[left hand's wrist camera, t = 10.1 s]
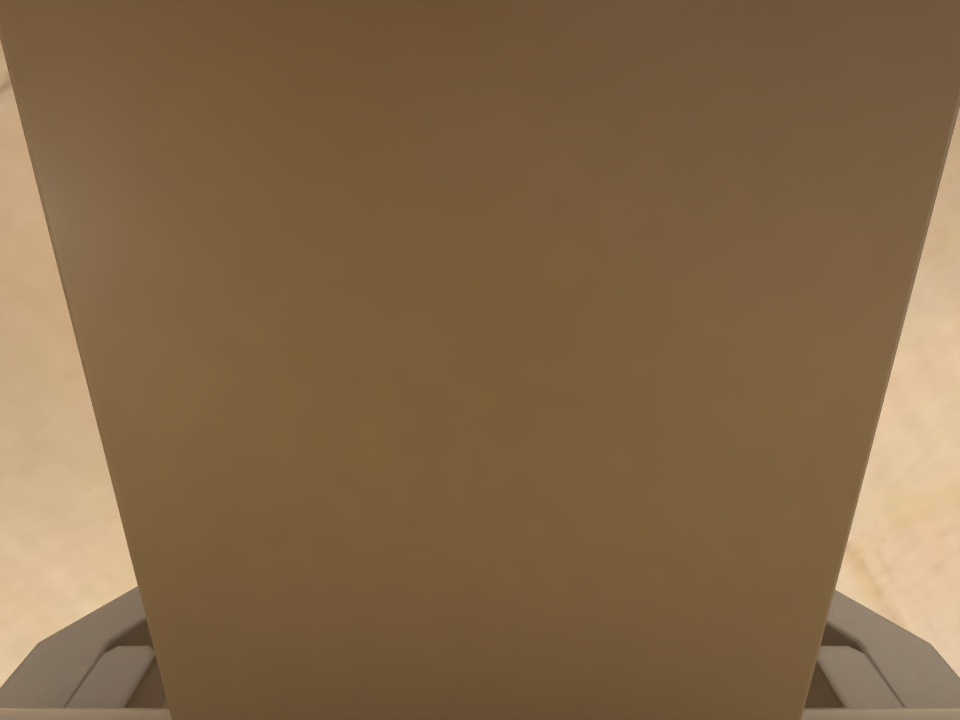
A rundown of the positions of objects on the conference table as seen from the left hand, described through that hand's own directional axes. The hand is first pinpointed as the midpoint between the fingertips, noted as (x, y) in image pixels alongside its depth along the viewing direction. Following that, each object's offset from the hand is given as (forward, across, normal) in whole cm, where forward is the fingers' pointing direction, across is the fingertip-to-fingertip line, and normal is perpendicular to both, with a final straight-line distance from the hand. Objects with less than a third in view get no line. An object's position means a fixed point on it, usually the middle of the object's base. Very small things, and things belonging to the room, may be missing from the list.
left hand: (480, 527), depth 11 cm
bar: (+4, 0, -9) cm, 10 cm away
